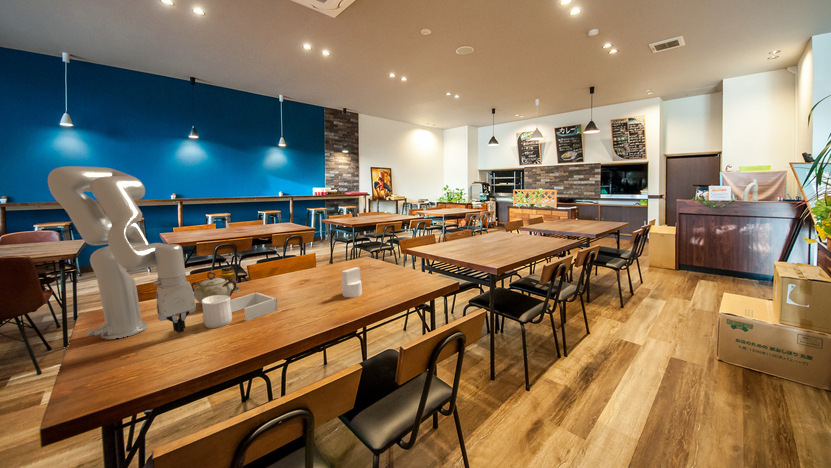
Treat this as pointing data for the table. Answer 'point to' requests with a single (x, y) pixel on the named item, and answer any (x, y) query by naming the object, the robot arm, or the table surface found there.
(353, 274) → the base with upright slab
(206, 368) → the table surface
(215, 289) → the sugar bowl
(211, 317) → the cup
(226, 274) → the condiment
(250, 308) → the box
